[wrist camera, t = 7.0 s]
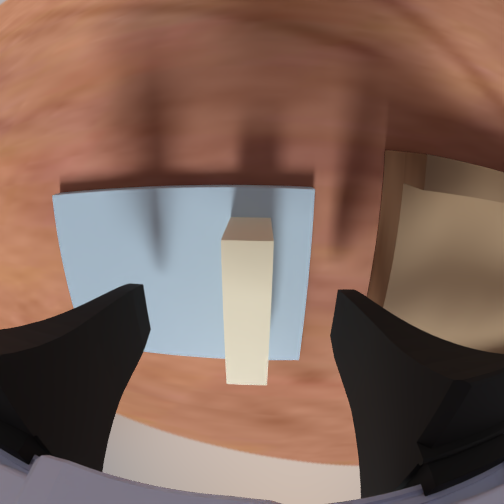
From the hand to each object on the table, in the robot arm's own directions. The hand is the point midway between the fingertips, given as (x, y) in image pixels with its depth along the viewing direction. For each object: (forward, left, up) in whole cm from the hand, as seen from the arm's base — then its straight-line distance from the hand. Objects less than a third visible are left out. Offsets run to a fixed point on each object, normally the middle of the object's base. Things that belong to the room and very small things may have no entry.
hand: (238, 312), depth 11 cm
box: (0, -13, -3) cm, 13 cm away
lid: (0, +3, -4) cm, 5 cm away
